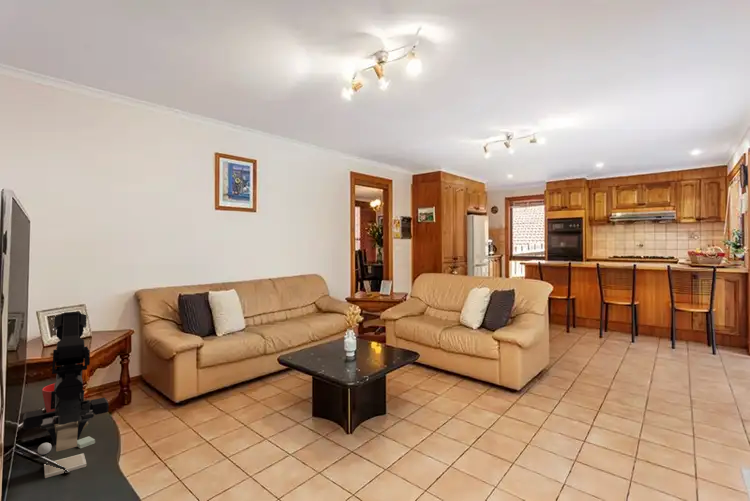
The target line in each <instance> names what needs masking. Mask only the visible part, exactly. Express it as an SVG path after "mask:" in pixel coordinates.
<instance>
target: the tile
mask: <svg viewBox="0 0 750 501" xmlns="http://www.w3.org/2000/svg"><path fill="white" fill-rule="evenodd" d="M95 443H96V439H95V438H93V437H91V436H89V435H88V436H85V437H83V438H79V439H78V440H77V447H78V448H79V449H83V448H85V447H89V446H91V445H94V444H95ZM77 447H76V448H77Z"/></svg>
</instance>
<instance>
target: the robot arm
mask: <svg viewBox="0 0 750 501" xmlns="http://www.w3.org/2000/svg"><path fill="white" fill-rule="evenodd" d="M53 322H54V323H53V331H56V338H57V339H58V341H57V342H56V349H53V351H52V352H53V353H52V369H51V374H52V375H56V376H55V377H56V379H55V382H54V383H55V386H54V391H52V392H51V409H54V408H55V411H52V412H43V411H44V410H43V409H37V410H30V411H26V412H25V413H24V414H23V416H22V417H23V418H22V429H23V430H31V429H35V428H39V427H40V428H39V429H42V430H43V429H46V431H47V432H48V433H49V435H50V438H51V441H52V443H53V445H54V446H56V441H57V439H56V432H55V425H56V424H60V425H64V424H66V423H70V422H77V421H78V425H77V426H78V435H77V440H79V439H80V436H81V435H82V432H83V431H84V430H83V428H84V426H85V424H86V422H89V420H90V419H93V418H94V417H95V415H96V416H97V415H102V414H105V413H108V412H109V408H110V407H109V401H108V399H107V398H106V397H99V398H95V399H91V400H90V399H87V400H84V398H85V390H84V381H83V371H86V370H88V366H90V364H91V361H90V360H91V359H90V358H91V357H90V354H91V353H90V352H91V351H90V349H89V347H88V346H85V339H83V338H82V336H83V335H84V329H85V328H87V314H85V313H84V314H83V313H82V312H80V311H67V312H66V311H65V312H62V313H61V314H58V315H56V316H54V321H53ZM53 402H54V403H53Z"/></svg>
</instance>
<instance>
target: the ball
mask: <svg viewBox="0 0 750 501" xmlns="http://www.w3.org/2000/svg"><path fill="white" fill-rule="evenodd" d="M51 450H52V444H51V443H49V442H43V443H41V444H40V445H39V446H38V447H37V453H38V454H39V455H46V454H48V453H50V451H51Z"/></svg>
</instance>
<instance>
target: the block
mask: <svg viewBox="0 0 750 501" xmlns="http://www.w3.org/2000/svg"><path fill="white" fill-rule="evenodd" d="M77 435H78V426H77V422H72V423H67V424H64V425H58V426H56V439H57V441H56V445H55V450H56V451H55V452H61V451H65V450H68V449H72V448H77Z"/></svg>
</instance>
